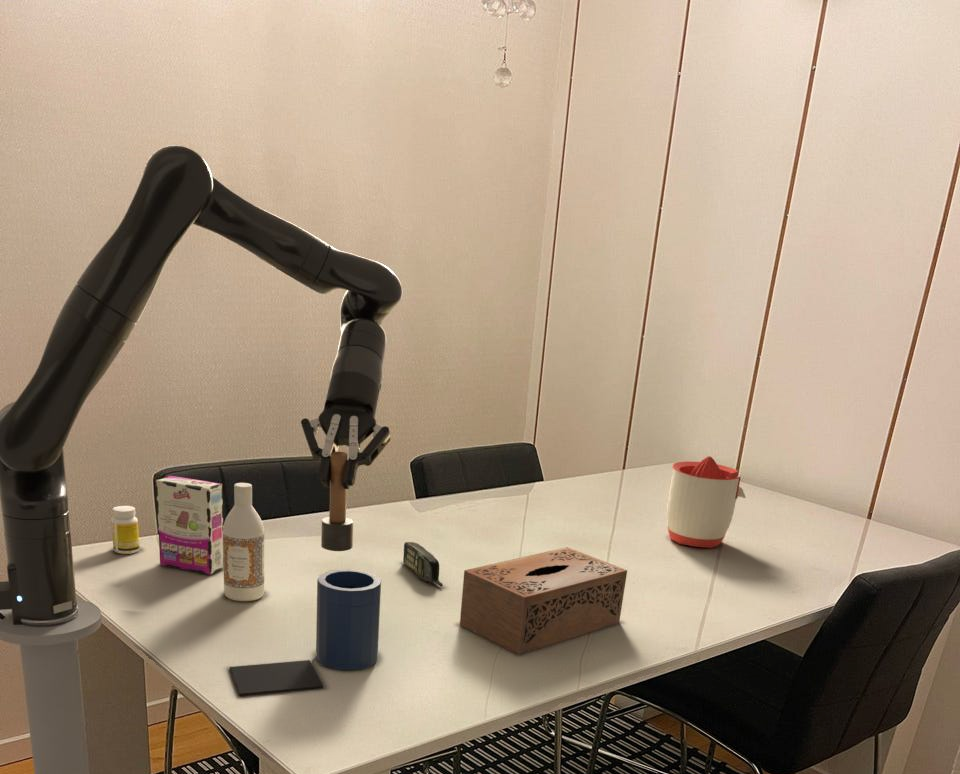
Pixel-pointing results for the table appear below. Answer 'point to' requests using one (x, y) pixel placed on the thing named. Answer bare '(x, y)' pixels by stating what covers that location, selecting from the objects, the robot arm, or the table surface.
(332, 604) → the blue pen holder
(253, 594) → the bath foam
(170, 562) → the candy bar box
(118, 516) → the supplement bottle
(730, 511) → the citrus juicer
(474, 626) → the tissue box cover
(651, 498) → the table surface
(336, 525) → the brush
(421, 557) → the mobile phone
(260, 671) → the mat
